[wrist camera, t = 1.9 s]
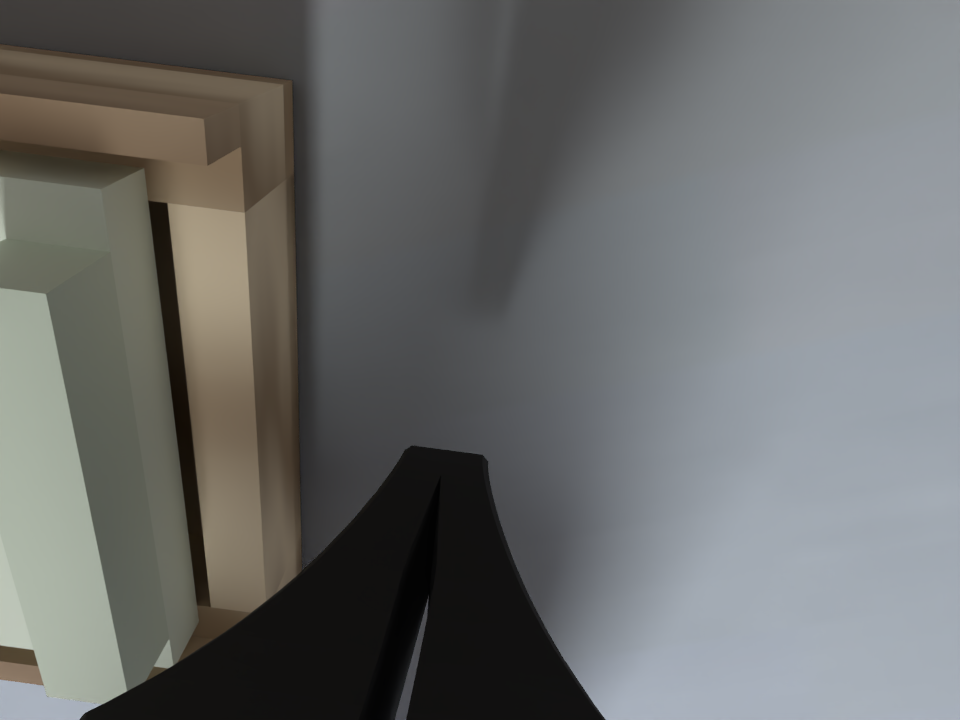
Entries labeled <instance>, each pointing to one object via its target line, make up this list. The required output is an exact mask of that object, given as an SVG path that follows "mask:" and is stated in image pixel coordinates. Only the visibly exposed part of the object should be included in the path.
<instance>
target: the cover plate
mask: <svg viewBox="0 0 960 720" xmlns="http://www.w3.org/2000/svg"><path fill="white" fill-rule="evenodd" d="M198 622H199V618H198V610H197V602H196V593H195V585H194V577H193V568H192V560H191V552H190V544H189V535H188V527H187V519H186V510H185V502H184V494H183V486H182V477H181V469H180V461H179V452H178V444H177V436H176V428H175V419H174V411H173V403H172V394H171V386H170V378H169V370H168V361H167V353H166V345H165V336H164V328H163V320H162V312H161V303H160V295H159V287H158V278H157V270H156V262H155V254H154V245H153V237H152V229H151V220H150V212H149V204H148V196H147V187H146V179H145V171H144V168H141V167H133V166H125V165H117V164H109V163H101V162H93V161H85V160H77V159H69V158H61V157H54V156H46V155H38V154H30V153H22V152H14V151H6V150H0V645H1V646H8V647H16V648H23V649H30V650H34V653H35V656H36V660H37V663H38V667H39V670H40V674H41V677H42V681H43V684H44V688H45V691H46V694H47V697H54V698H61V699H69V700H76V701H83V702H90V703H98V704H104V703H106V702H108V701H110V700H112V699H113V698H115V697H117V696H119V695H121V694H123V693H125V692H126V691H128V690H130V689H132V688H134V687H136V686H138V685H139V684H141V683H143V682H145V681H146V679H147V678H148V676H149V674H150V672H151V670H152V669H153V667H154V666H155V667H162V668H170V667H171V666H173V665H174V664H176V663H177V662H178V660H179V658H180V657H181V655H182V653H183V651H184V649H185V647H186V645H187V643H188V641H189V639H190V638H191V636H192V634H193V632H194V630H195V628H196V626H197V624H198Z"/></svg>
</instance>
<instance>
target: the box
mask: <svg viewBox="0 0 960 720" xmlns="http://www.w3.org/2000/svg"><path fill="white" fill-rule="evenodd" d="M0 150H6V151H14V152H22V153H30V154H38V155H46V156H54V157H61V158H69V159H77V160H85V161H93V162H101V163H109V164H117V165H125V166H133V167H141V168H144V171H145V179H146V187H147V196H148V204H149V212H150V220H151V229H152V237H153V245H154V254H155V262H156V270H157V278H158V287H159V295H160V303H161V312H162V320H163V328H164V336H165V345H166V353H167V361H168V370H169V378H170V386H171V394H172V403H173V411H174V419H175V428H176V436H177V444H178V452H179V461H180V469H181V477H182V486H183V494H184V502H185V510H186V519H187V527H188V535H189V544H190V552H191V560H192V568H193V577H194V585H195V593H196V602H197V610H198V618H199V622H198V624H197V626H196V628H195V630H194V632H193V634H192V636H191V638H190V639H189V641H188V643H187V645H186V647H185V649H184V651H183V653H182V655H181V657H180V658H179V660H178V662H179V661H181V660H182V659H184V658H185V657H187V656H188V655H190V654H191V653H193V652H195V651H196V650H198V649H199V648H201V647H202V646H204V645H205V644H207V643H208V642H210V641H212V640H213V639H215V638H216V637H218V636H219V635H221V634H222V633H224V632H225V631H227V630H228V629H230V628H231V627H232V626H234V625H235V624H237V623H238V622H239V621H241V620H242V619H243V618H245V617H246V616H247V615H249V614H250V613H251V612H253V611H254V610H255V609H256V608H258V607H259V606H260V605H262V604H263V603H264V602H265V601H267V600H268V599H269V598H271V597H272V596H273V595H274V594H276V593H277V592H278V591H279V590H281V589H282V588H283V587H284V586H285V585H286V584H288V583H289V582H290V581H291V580H292V579H293V578H295V577H296V576H297V575H298V574H299V573H300V572H301V571H302V548H301V497H300V446H299V395H298V344H297V293H296V242H295V190H294V139H293V88H292V80H284V79H276V78H268V77H260V76H252V75H244V74H236V73H228V72H220V71H212V70H204V69H195V68H187V67H179V66H171V65H163V64H155V63H147V62H139V61H131V60H123V59H115V58H107V57H99V56H91V55H83V54H75V53H67V52H59V51H51V50H43V49H35V48H27V47H19V46H11V45H3V44H0ZM178 662H177V663H178ZM166 669H168V668H162V667H155V666H154V667H153V669H152V670H151V672H150V674H149V676H148V678H147V679H146V681H147V680H149V679H151V678H152V677H154V676H156V675H158V674H159V673H161V672H163V671H165V670H166ZM0 679H1V680H8V681H15V682H22V683H30V684H37V685H44V684H43V681H42V677H41V674H40V670H39V667H38V663H37V660H36V656H35V653H34V650H30V649H23V648H16V647H8V646H1V645H0Z"/></svg>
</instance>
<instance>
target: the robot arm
mask: <svg viewBox="0 0 960 720" xmlns="http://www.w3.org/2000/svg"><path fill="white" fill-rule="evenodd" d="M428 595H429V601H428V616H427V622H426V627H425V632H424V637H423V642H422V647H421V652H420V657H419V662H418V667H417V671H416V676H415V681H414V686H413V690H412V695H411V700H410V705H409V709H408V714H407V719H406V720H605V718H604V717H603V716H602V714H601V713H600V712H599V710H598V709H597V708H596V706H595V705H594V704H593V702H592V701H591V699H590V698H589V696H588V695H587V693H586V692H585V690H584V689H583V687H582V686H581V684H580V683H579V681H578V680H577V678H576V677H575V675H574V674H573V672H572V671H571V669H570V668H569V666H568V665H567V663H566V662H565V660H564V659H563V657H562V655H561V654H560V652H559V650H558V649H557V647H556V645H555V644H554V642H553V640H552V638H551V637H550V635H549V633H548V631H547V630H546V628H545V626H544V624H543V622H542V620H541V618H540V617H539V615H538V613H537V611H536V609H535V607H534V605H533V603H532V601H531V599H530V597H529V595H528V593H527V590H526V588H525V586H524V584H523V582H522V579H521V577H520V575H519V572H518V570H517V568H516V565H515V563H514V560H513V558H512V555H511V553H510V550H509V547H508V545H507V542H506V539H505V536H504V533H503V530H502V527H501V524H500V521H499V518H498V514H497V511H496V507H495V503H494V499H493V495H492V491H491V486H490V481H489V473H488V461H487V460H486V458H485V457H484V456H483V455H479V454H472V453H464V452H457V451H449V450H441V449H434V448H426V447H419V446H411V447H409V448H408V449H406V450H405V451H404V453H403V455H402V456H401V458H400V460H399V461H398V463H397V464H396V466H395V467H394V469H393V470H392V472H391V473H390V474H389V476H388V477H387V479H386V480H385V481H384V482H383V484H382V485H381V486H380V488H379V489H378V490H377V492H376V493H375V494H374V495H373V496H372V498H371V499H370V500H369V501H368V502H367V504H366V505H365V506H364V507H363V508H362V510H361V511H360V512H359V513H358V514H357V516H356V517H355V518H354V519H353V520H352V521H351V522H350V523H349V525H348V526H347V527H346V528H345V529H344V530H343V531H342V532H341V533H340V534H339V535H338V536H337V537H336V538H335V539H334V540H333V541H332V542H331V543H330V544H329V545H328V546H327V547H326V548H325V550H324V551H323V552H322V553H321V554H320V555H318V556H317V557H316V558H315V559H314V560H313V561H312V562H311V563H310V564H309V565H308V566H307V567H306V568H305V569H304V570H302V571H301V572H300V573H299V574H298V575H297V576H296V577H295V578H293V579H292V580H291V581H290V582H289V583H288V584H286V585H285V586H284V587H283V588H282V589H281V590H279V591H278V592H277V593H276V594H274V595H273V596H272V597H271V598H269V599H268V600H267V601H265V602H264V603H263V604H262V605H260V606H259V607H258V608H256V609H255V610H254V611H253V612H251V613H250V614H249V615H247V616H246V617H245V618H243V619H242V620H241V621H239V622H238V623H237V624H235V625H234V626H232V627H231V628H230V629H228V630H227V631H225V632H224V633H222V634H221V635H219V636H218V637H216V638H215V639H213V640H212V641H210V642H208V643H207V644H205V645H204V646H202V647H201V648H199V649H198V650H196V651H195V652H193V653H191V654H190V655H188V656H187V657H185V658H184V659H182V660H181V661H179V662H178V663H176V664H174V665H173V666H171V667H170V668H168V669H166V670H165V671H163V672H161V673H159V674H158V675H156V676H154V677H152V678H151V679H149V680H147V681H145V682H143V683H141V684H139V685H138V686H136V687H134V688H132V689H130V690H128V691H126V692H125V693H123V694H121V695H119V696H117V697H115V698H113V699H112V700H110V701H108V702H106V703H104V704H102V705H100V706H98V707H96V708H94V709H92V710H90V711H88V712H86V713H85V714H84V715H83V716H82V717H81V719H80V720H395V716H396V712H397V708H398V705H399V701H400V698H401V694H402V690H403V687H404V683H405V679H406V676H407V672H408V669H409V665H410V661H411V658H412V654H413V650H414V647H415V643H416V640H417V636H418V632H419V629H420V625H421V621H422V618H423V614H424V610H425V607H426V603H427V599H428Z"/></svg>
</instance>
